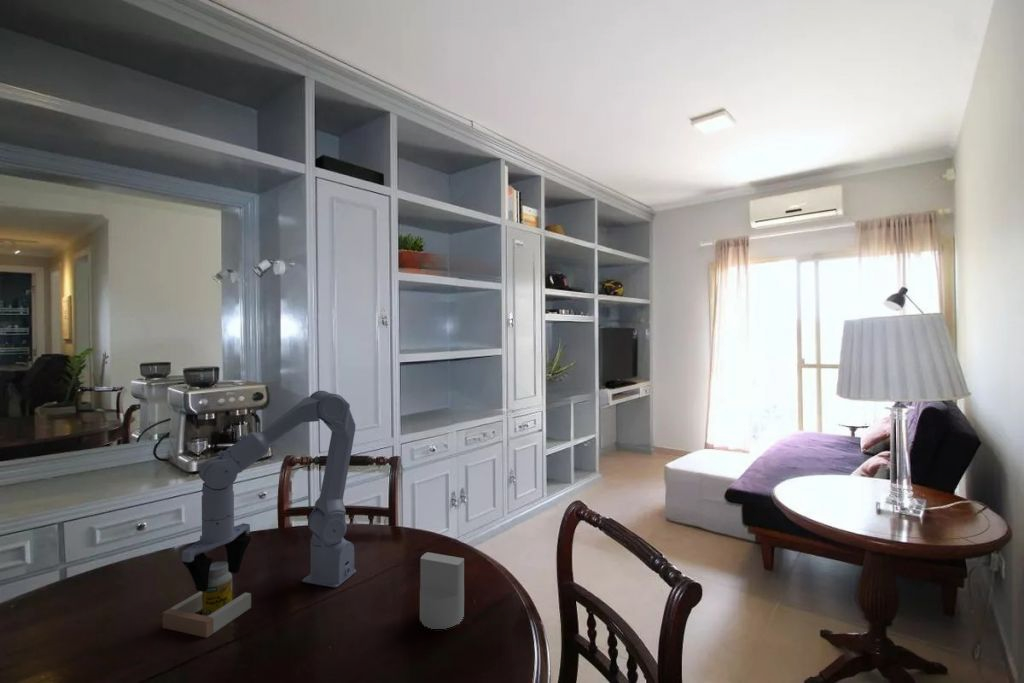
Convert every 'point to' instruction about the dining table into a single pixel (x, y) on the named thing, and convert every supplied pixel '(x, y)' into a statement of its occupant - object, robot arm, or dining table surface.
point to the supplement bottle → (217, 588)
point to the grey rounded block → (441, 590)
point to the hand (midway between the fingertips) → (218, 580)
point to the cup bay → (201, 625)
